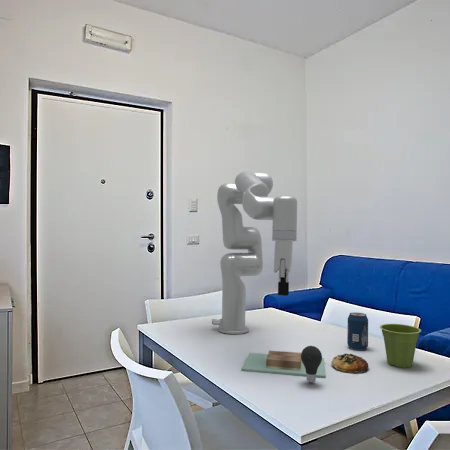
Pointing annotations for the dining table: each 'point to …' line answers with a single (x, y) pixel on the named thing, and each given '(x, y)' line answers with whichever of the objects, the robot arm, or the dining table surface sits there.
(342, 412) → the dining table surface
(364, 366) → the bread roll
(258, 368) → the rubber mat
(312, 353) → the light bulb
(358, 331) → the soda can
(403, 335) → the plant pot
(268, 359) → the tan wooden block
